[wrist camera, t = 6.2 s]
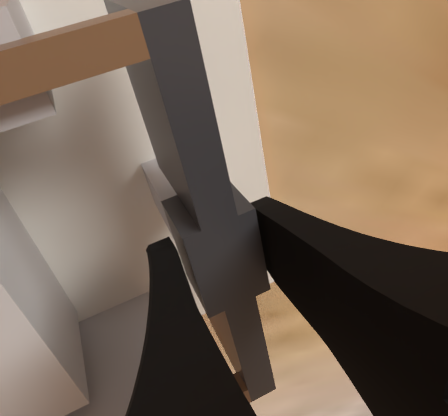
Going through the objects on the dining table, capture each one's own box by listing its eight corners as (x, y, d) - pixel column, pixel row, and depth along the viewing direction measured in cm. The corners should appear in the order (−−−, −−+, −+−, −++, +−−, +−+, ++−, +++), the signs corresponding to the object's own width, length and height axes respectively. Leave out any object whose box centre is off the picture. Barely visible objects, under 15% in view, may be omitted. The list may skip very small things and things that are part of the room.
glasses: (-26, 437, 16) (-40, 558, 12) (-384, 129, 8) (-646, 235, 5) (241, 308, 18) (287, 382, 15) (158, -17, 11) (214, -10, 7)
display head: (-34, 406, 19) (-57, 565, 14) (-424, 49, 9) (-927, 148, 4) (273, 266, 22) (343, 353, 17) (211, -98, 13) (327, -135, 8)
